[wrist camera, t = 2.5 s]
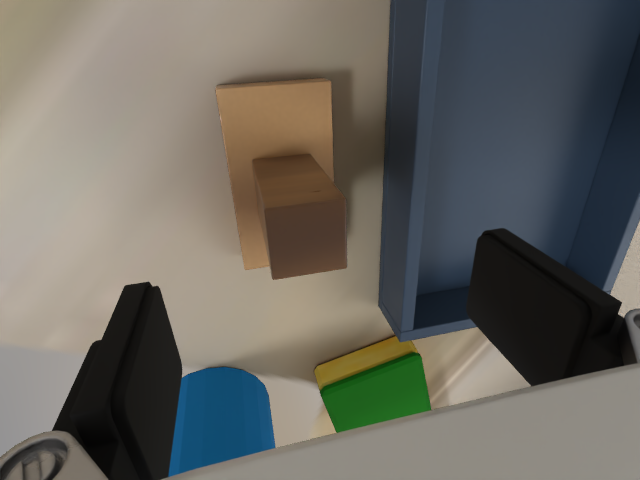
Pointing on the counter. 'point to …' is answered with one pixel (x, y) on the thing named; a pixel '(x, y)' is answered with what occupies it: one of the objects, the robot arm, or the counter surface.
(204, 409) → the bottle
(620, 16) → the baking dish
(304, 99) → the two-tone wood block
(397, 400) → the dish sponge
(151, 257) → the counter surface
